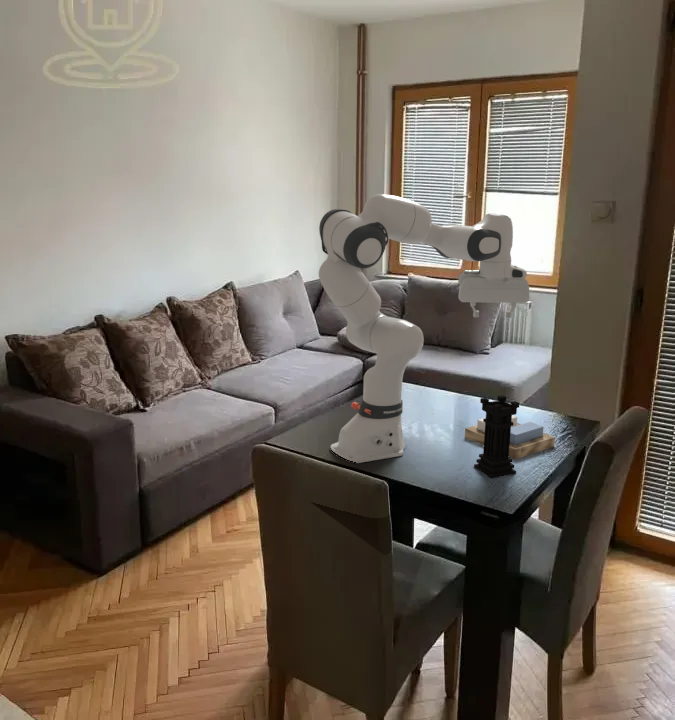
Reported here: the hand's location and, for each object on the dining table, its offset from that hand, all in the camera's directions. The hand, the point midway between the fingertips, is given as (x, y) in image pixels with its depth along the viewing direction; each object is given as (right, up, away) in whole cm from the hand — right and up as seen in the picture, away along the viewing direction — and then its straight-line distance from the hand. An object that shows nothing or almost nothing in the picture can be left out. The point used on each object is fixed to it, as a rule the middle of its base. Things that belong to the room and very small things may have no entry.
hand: (492, 317), depth 201 cm
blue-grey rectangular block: (+9, -36, -1) cm, 37 cm away
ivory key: (+3, -33, +7) cm, 34 cm away
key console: (+6, -37, +4) cm, 38 cm away
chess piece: (-3, -43, -16) cm, 46 cm away
